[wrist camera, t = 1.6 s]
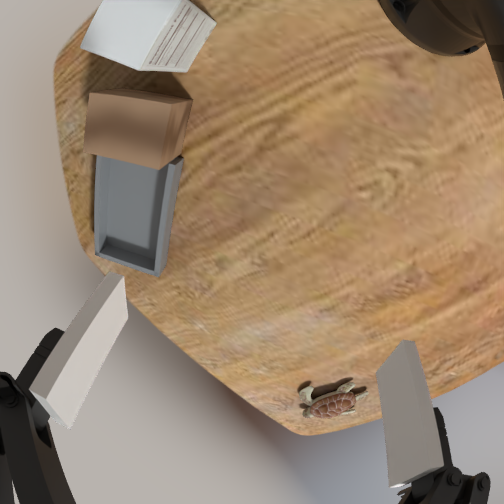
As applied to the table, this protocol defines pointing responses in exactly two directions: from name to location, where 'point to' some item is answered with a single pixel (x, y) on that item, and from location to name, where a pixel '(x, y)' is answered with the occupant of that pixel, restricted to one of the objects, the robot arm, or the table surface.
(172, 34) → the supplement box
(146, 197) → the tray
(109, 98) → the brown block
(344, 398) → the decorative turtle
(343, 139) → the table surface
